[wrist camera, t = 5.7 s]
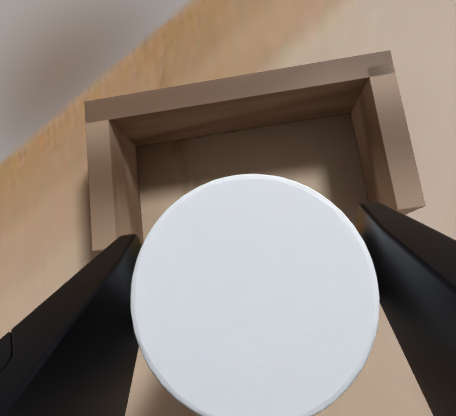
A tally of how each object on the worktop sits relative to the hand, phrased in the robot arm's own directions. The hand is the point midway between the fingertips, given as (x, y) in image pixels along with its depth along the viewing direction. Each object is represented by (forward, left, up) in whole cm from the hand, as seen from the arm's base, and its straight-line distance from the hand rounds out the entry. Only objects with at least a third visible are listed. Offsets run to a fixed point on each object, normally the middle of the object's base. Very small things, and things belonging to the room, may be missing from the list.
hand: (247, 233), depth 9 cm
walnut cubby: (+3, +4, -12) cm, 13 cm away
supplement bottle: (-1, -1, -7) cm, 7 cm away
